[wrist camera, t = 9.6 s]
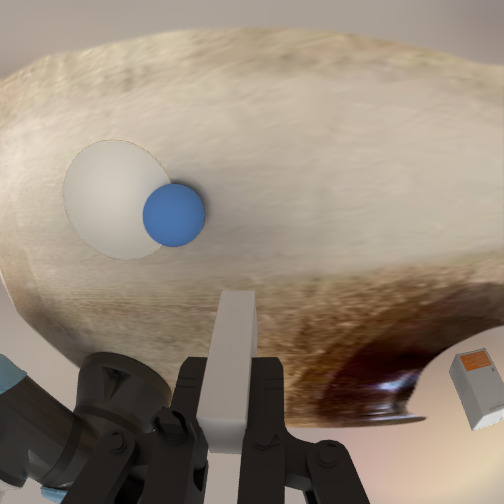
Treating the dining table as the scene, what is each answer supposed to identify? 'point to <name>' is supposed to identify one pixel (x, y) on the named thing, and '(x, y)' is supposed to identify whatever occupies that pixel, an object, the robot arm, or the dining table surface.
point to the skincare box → (478, 388)
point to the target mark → (113, 197)
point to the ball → (173, 215)
